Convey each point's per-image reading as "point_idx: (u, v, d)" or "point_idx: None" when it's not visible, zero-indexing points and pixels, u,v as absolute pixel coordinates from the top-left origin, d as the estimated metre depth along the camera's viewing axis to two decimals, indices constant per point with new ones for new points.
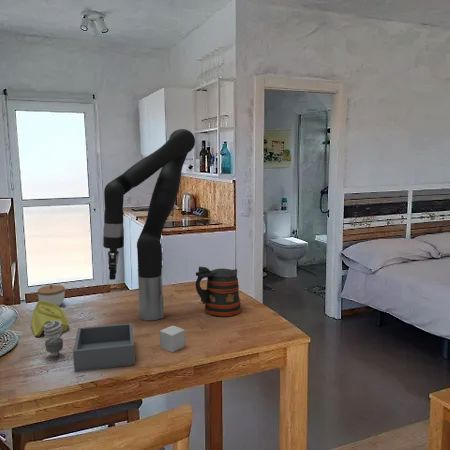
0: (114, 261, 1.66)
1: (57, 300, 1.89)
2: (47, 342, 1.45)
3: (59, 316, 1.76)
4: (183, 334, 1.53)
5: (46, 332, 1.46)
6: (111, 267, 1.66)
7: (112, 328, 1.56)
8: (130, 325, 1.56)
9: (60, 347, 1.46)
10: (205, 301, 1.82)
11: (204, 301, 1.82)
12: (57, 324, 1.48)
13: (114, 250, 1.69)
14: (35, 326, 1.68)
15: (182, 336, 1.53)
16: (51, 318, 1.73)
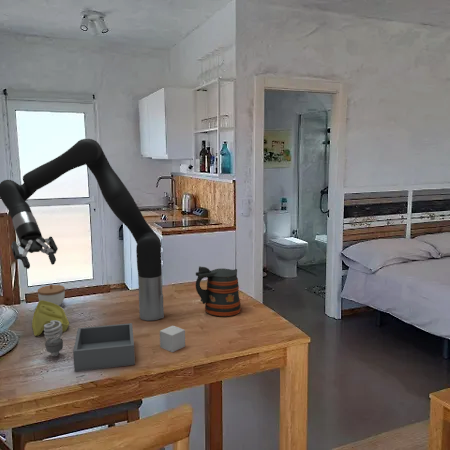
0: (13, 249, 1.53)
1: (57, 300, 1.89)
2: (47, 342, 1.45)
3: (60, 316, 1.76)
4: (183, 334, 1.53)
5: (46, 332, 1.46)
6: (15, 256, 1.52)
7: (112, 328, 1.56)
8: (130, 325, 1.56)
9: (60, 347, 1.46)
10: (205, 301, 1.82)
11: (204, 301, 1.82)
12: (57, 324, 1.48)
13: (20, 240, 1.56)
14: (35, 326, 1.69)
15: (182, 336, 1.53)
16: (52, 318, 1.73)
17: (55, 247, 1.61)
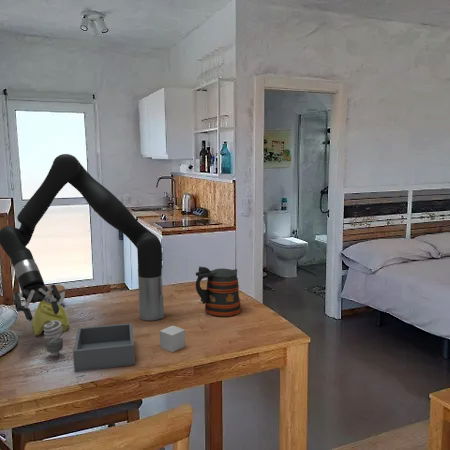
0: (15, 300, 1.48)
1: None
2: (47, 342, 1.45)
3: (61, 316, 1.76)
4: (183, 334, 1.53)
5: (46, 332, 1.46)
6: (17, 308, 1.48)
7: (112, 328, 1.56)
8: (130, 325, 1.56)
9: (60, 347, 1.46)
10: (205, 301, 1.82)
11: (204, 301, 1.82)
12: (57, 324, 1.48)
13: (22, 290, 1.52)
14: (36, 325, 1.69)
15: (182, 336, 1.53)
16: (52, 318, 1.73)
17: (58, 296, 1.56)
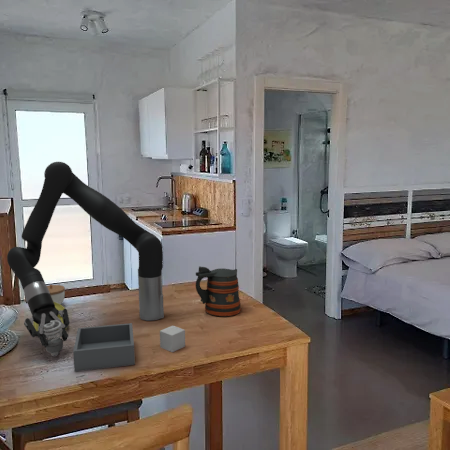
0: (29, 327, 1.43)
1: (57, 300, 1.89)
2: None
3: None
4: (183, 334, 1.53)
5: (46, 332, 1.46)
6: (32, 334, 1.44)
7: (112, 328, 1.56)
8: (130, 325, 1.56)
9: (60, 347, 1.46)
10: (205, 301, 1.82)
11: (204, 301, 1.82)
12: (57, 324, 1.48)
13: (33, 313, 1.47)
14: (36, 325, 1.70)
15: (182, 336, 1.53)
16: None
17: (67, 321, 1.50)
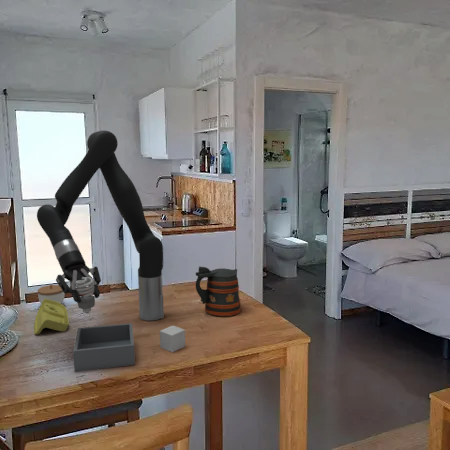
0: (61, 283, 1.42)
1: (57, 300, 1.89)
2: None
3: (62, 315, 1.77)
4: (183, 334, 1.53)
5: (78, 289, 1.44)
6: (64, 290, 1.42)
7: (112, 328, 1.56)
8: (130, 325, 1.56)
9: (92, 304, 1.44)
10: (205, 301, 1.82)
11: (204, 301, 1.82)
12: (88, 281, 1.46)
13: (64, 270, 1.45)
14: (37, 324, 1.70)
15: (182, 336, 1.53)
16: (54, 317, 1.74)
17: (98, 279, 1.48)
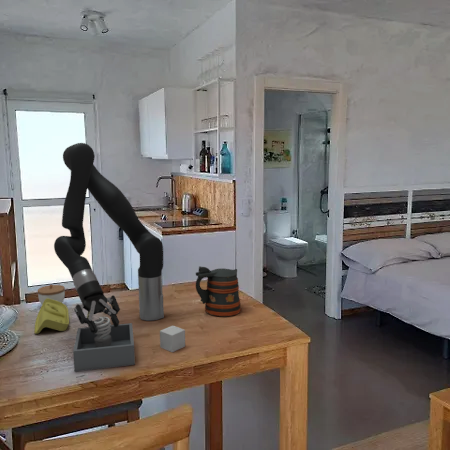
0: (79, 313, 1.43)
1: (57, 300, 1.89)
2: (96, 338, 1.46)
3: (63, 315, 1.77)
4: (183, 334, 1.53)
5: None
6: (81, 320, 1.43)
7: (112, 328, 1.56)
8: (130, 325, 1.56)
9: (109, 343, 1.46)
10: (205, 301, 1.82)
11: (204, 301, 1.82)
12: (105, 320, 1.48)
13: (83, 301, 1.47)
14: (38, 323, 1.71)
15: (182, 336, 1.53)
16: (54, 316, 1.74)
17: (117, 308, 1.51)
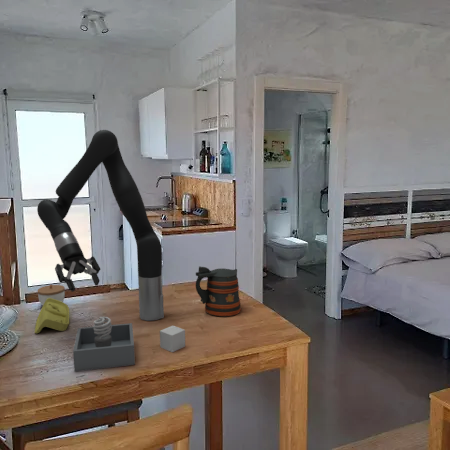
0: (58, 272, 1.51)
1: None
2: (97, 338, 1.46)
3: (64, 314, 1.77)
4: (183, 334, 1.53)
5: (95, 328, 1.46)
6: (59, 279, 1.51)
7: (112, 328, 1.56)
8: (130, 325, 1.56)
9: (109, 343, 1.46)
10: (205, 301, 1.82)
11: (204, 301, 1.82)
12: (106, 320, 1.48)
13: (63, 261, 1.55)
14: (38, 323, 1.71)
15: (182, 336, 1.53)
16: (55, 316, 1.75)
17: (98, 267, 1.59)
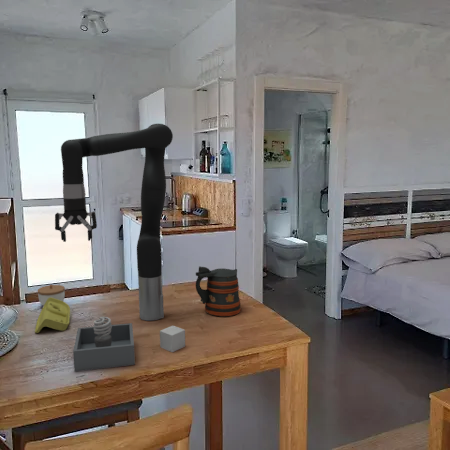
0: (55, 221, 1.62)
1: None
2: (97, 338, 1.46)
3: (65, 314, 1.77)
4: (183, 334, 1.53)
5: (96, 328, 1.46)
6: None
7: (112, 328, 1.56)
8: (130, 325, 1.56)
9: (109, 343, 1.46)
10: (205, 301, 1.82)
11: (204, 301, 1.82)
12: (106, 320, 1.48)
13: (64, 211, 1.62)
14: (39, 322, 1.72)
15: (182, 336, 1.53)
16: (56, 316, 1.75)
17: (94, 225, 1.65)
